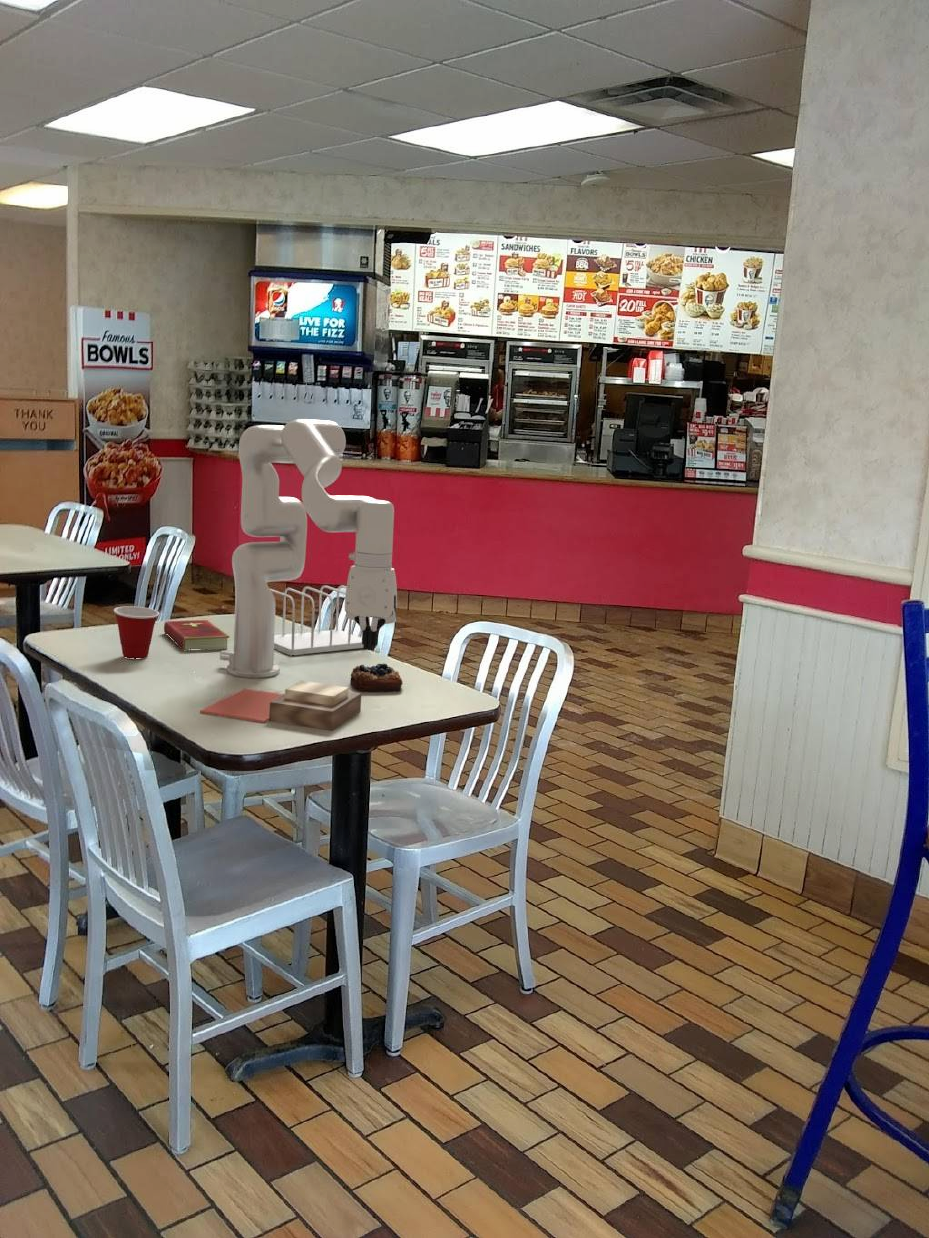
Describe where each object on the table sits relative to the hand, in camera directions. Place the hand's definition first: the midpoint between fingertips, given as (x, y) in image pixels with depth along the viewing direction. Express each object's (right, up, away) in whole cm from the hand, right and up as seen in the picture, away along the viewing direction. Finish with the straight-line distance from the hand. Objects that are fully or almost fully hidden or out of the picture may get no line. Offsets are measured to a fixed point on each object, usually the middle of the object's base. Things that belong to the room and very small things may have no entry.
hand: (369, 648), depth 221 cm
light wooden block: (-12, -11, +6) cm, 17 cm away
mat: (-26, -13, +10) cm, 31 cm away
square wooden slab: (-12, -14, +6) cm, 20 cm away
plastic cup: (-62, -4, +44) cm, 76 cm away
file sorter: (-21, -1, +71) cm, 74 cm away
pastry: (-2, -10, +33) cm, 35 cm away
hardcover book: (-53, -1, +66) cm, 84 cm away
